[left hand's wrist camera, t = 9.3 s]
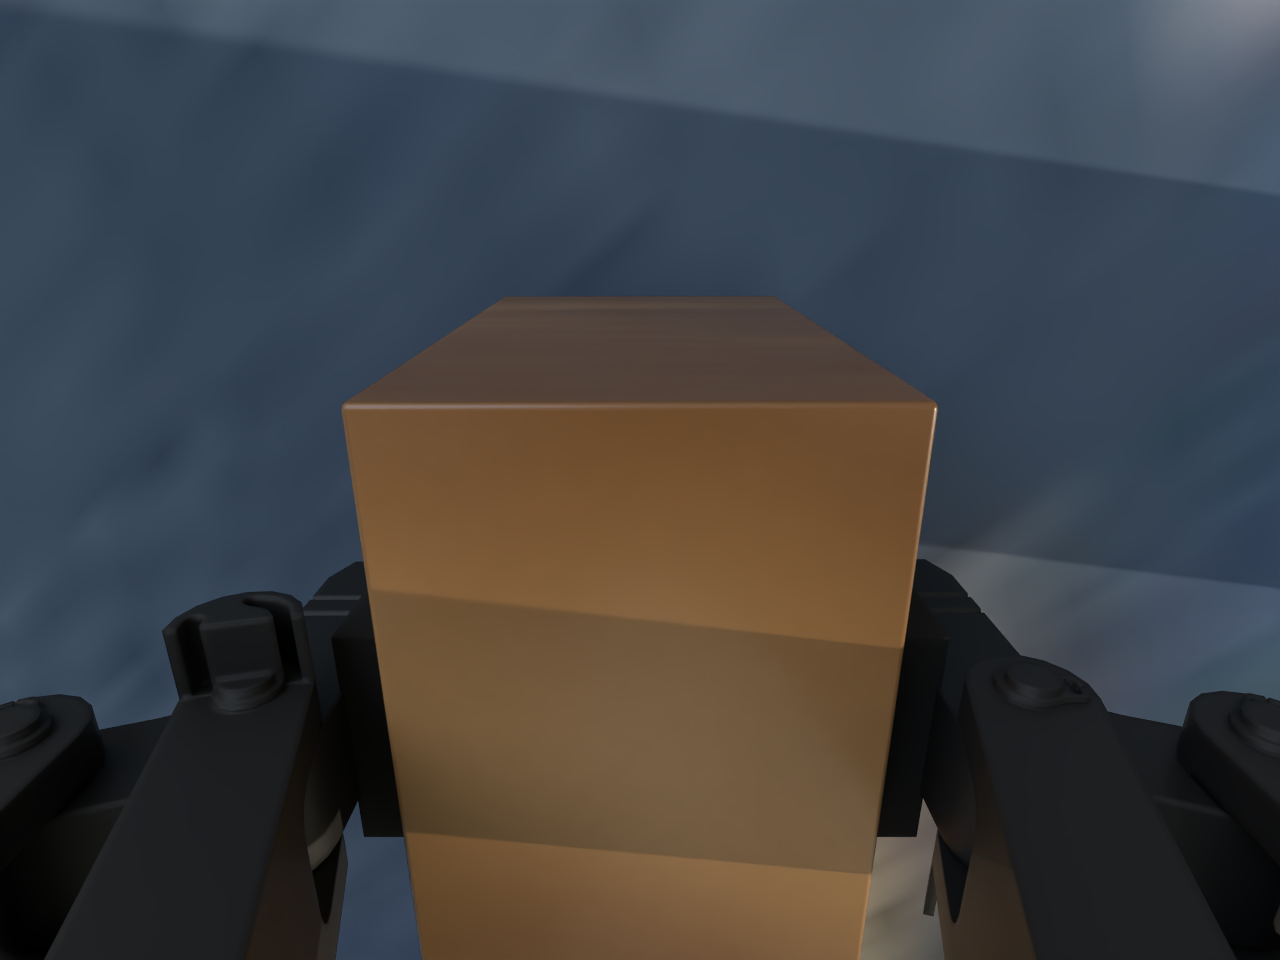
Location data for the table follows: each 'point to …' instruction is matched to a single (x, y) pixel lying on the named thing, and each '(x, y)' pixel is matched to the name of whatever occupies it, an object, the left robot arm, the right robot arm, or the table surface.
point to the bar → (640, 624)
